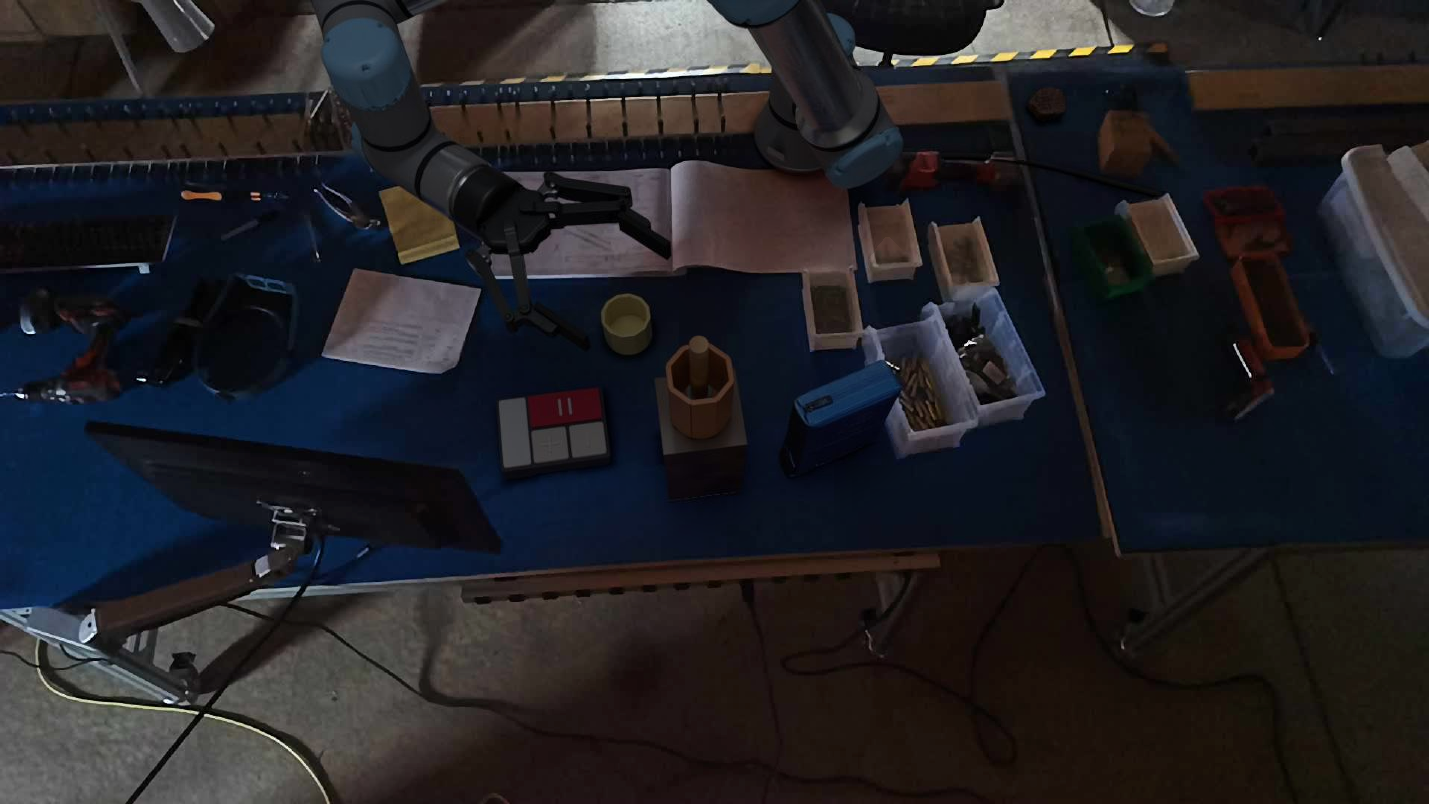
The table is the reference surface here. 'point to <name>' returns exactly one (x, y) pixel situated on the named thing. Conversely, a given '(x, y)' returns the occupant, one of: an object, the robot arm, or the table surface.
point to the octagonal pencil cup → (702, 413)
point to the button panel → (552, 432)
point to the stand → (702, 453)
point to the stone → (1047, 104)
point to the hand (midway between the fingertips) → (629, 296)
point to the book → (838, 418)
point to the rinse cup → (627, 324)
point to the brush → (699, 369)
